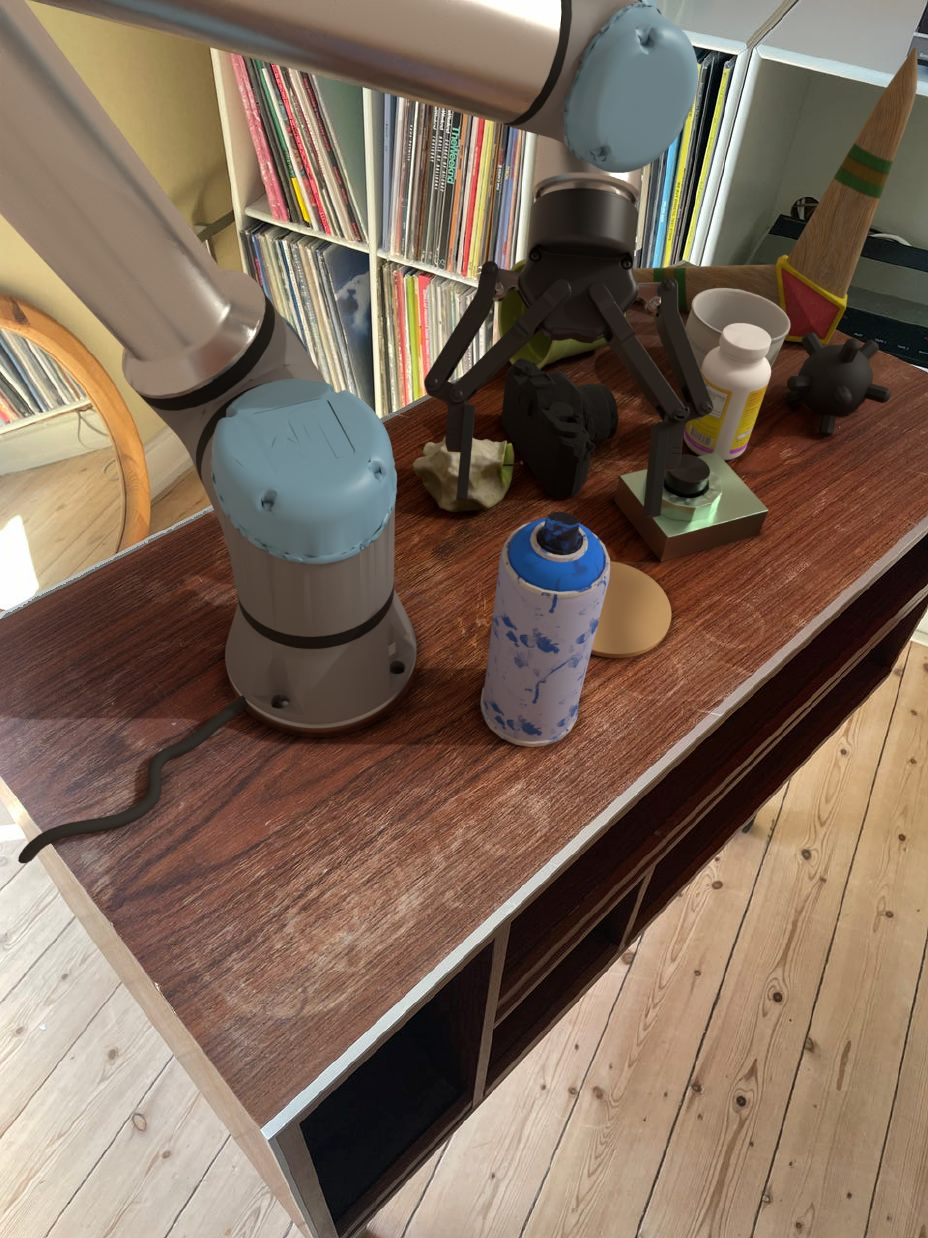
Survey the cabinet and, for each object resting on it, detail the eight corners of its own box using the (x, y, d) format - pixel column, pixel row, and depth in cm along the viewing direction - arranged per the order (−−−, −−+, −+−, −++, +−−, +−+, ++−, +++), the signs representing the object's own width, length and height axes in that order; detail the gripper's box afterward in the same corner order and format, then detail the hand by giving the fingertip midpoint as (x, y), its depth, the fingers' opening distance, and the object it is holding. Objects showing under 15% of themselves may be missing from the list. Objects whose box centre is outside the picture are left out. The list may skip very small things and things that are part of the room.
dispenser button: (676, 503, 85) (681, 486, 83) (653, 476, 87) (658, 458, 86) (713, 493, 86) (718, 476, 85) (690, 467, 89) (695, 449, 87)
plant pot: (590, 382, 112) (511, 388, 107) (569, 286, 113) (488, 288, 107) (651, 343, 102) (566, 348, 97) (627, 238, 102) (541, 238, 97)
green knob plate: (660, 562, 86) (672, 522, 83) (613, 500, 92) (623, 460, 88) (758, 534, 90) (774, 495, 86) (708, 476, 95) (721, 437, 91)
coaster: (581, 673, 77) (582, 668, 77) (524, 581, 84) (525, 577, 83) (693, 638, 81) (695, 633, 80) (631, 552, 87) (632, 548, 87)
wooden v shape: (906, 67, 87) (915, 43, 91) (578, 276, 117) (595, 251, 121) (1004, 263, 96) (1009, 234, 99) (675, 411, 125) (688, 384, 129)
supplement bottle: (741, 427, 101) (778, 320, 91) (748, 466, 96) (787, 358, 87) (679, 420, 101) (710, 313, 91) (683, 459, 97) (715, 351, 87)
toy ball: (806, 426, 109) (822, 468, 99) (757, 354, 105) (769, 390, 95) (894, 372, 104) (920, 411, 94) (846, 294, 100) (868, 326, 90)
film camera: (637, 486, 93) (656, 412, 87) (549, 506, 91) (562, 431, 84) (570, 399, 102) (583, 325, 96) (489, 415, 100) (496, 341, 93)
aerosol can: (587, 682, 77) (634, 498, 62) (564, 759, 72) (609, 579, 57) (496, 656, 78) (520, 470, 63) (467, 730, 73) (486, 547, 58)
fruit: (528, 504, 93) (542, 452, 86) (452, 546, 89) (460, 495, 82) (473, 442, 96) (482, 387, 89) (398, 480, 92) (401, 426, 85)
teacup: (683, 339, 112) (699, 276, 106) (774, 359, 110) (796, 297, 104) (662, 404, 103) (679, 340, 97) (761, 427, 101) (784, 363, 95)
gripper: (403, 165, 62) (377, 488, 63) (780, 198, 62) (745, 520, 63) (410, 208, 69) (387, 496, 70) (746, 237, 69) (716, 524, 70)
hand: (556, 508), depth 67 cm, fingers open, 13 cm apart
